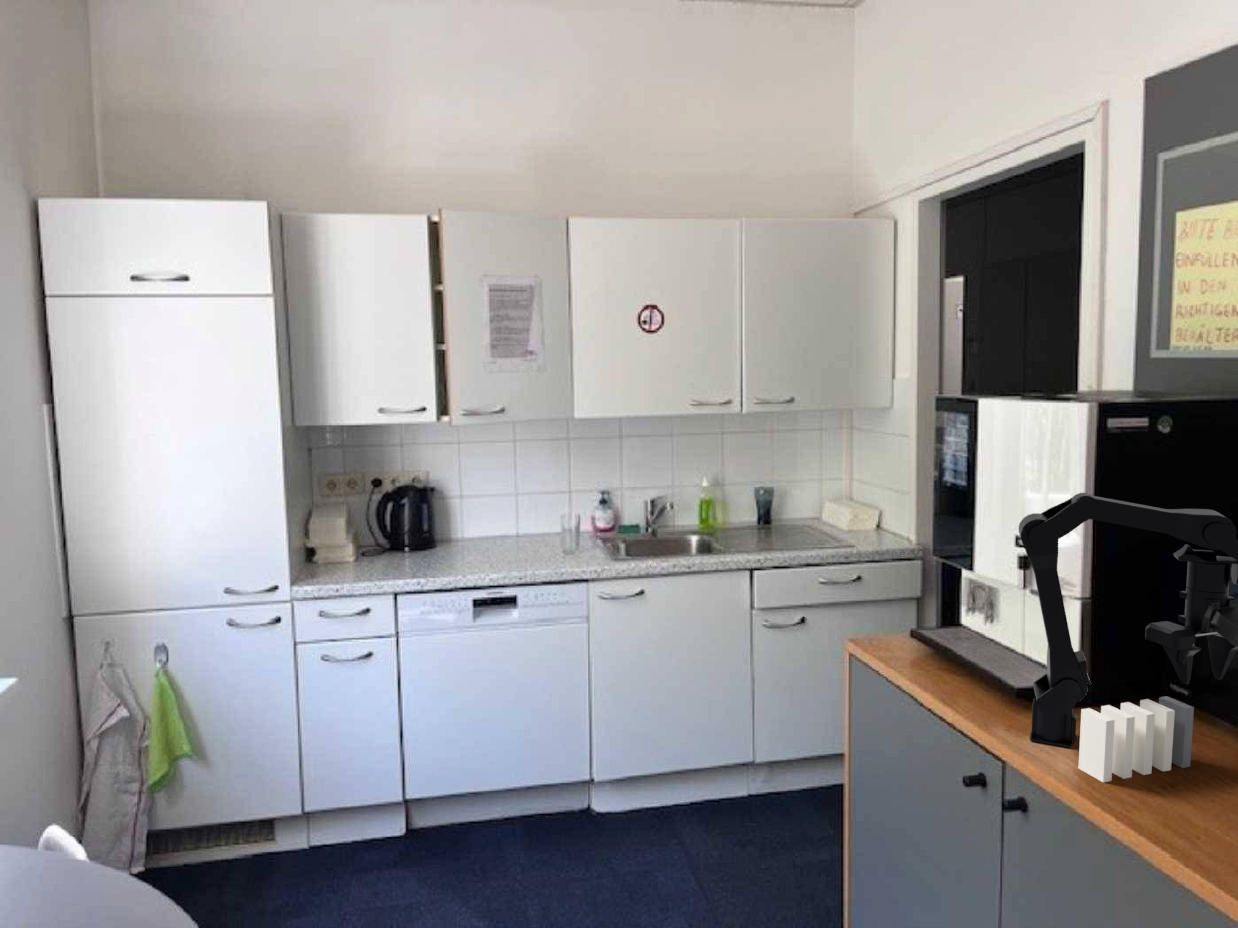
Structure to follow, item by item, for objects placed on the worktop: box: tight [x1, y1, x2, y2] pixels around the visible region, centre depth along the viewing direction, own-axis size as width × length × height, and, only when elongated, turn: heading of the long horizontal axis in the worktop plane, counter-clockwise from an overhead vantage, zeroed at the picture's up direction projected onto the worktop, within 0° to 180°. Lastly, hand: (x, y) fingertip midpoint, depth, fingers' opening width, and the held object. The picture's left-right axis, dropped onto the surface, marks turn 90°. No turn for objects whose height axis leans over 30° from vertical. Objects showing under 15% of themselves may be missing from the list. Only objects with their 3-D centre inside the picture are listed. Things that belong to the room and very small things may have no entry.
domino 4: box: [1139, 698, 1175, 772], centre depth 143 cm, size 2×5×10 cm, turn 16°
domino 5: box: [1158, 695, 1195, 769], centre depth 144 cm, size 2×5×10 cm, turn 16°
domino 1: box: [1077, 707, 1115, 783], centre depth 139 cm, size 2×5×10 cm, turn 16°
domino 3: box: [1119, 701, 1155, 776], centre depth 142 cm, size 2×5×10 cm, turn 16°
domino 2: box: [1100, 704, 1135, 780], centre depth 141 cm, size 2×5×10 cm, turn 16°
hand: (1201, 680), depth 144 cm, fingers open, 7 cm apart
